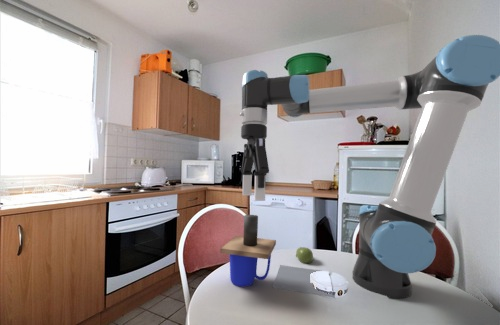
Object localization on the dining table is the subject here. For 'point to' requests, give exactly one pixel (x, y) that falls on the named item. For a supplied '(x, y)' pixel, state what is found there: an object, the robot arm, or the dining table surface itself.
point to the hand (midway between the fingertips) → (252, 197)
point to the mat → (296, 280)
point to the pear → (304, 255)
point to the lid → (249, 241)
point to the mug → (245, 270)
